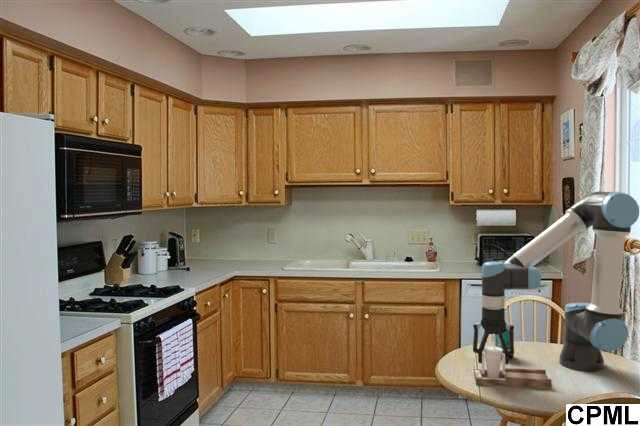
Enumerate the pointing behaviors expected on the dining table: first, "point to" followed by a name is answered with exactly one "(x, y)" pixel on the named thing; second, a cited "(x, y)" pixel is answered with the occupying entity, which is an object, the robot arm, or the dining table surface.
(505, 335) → the beverage can
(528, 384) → the rail board
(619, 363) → the dining table surface
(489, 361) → the smoothie
